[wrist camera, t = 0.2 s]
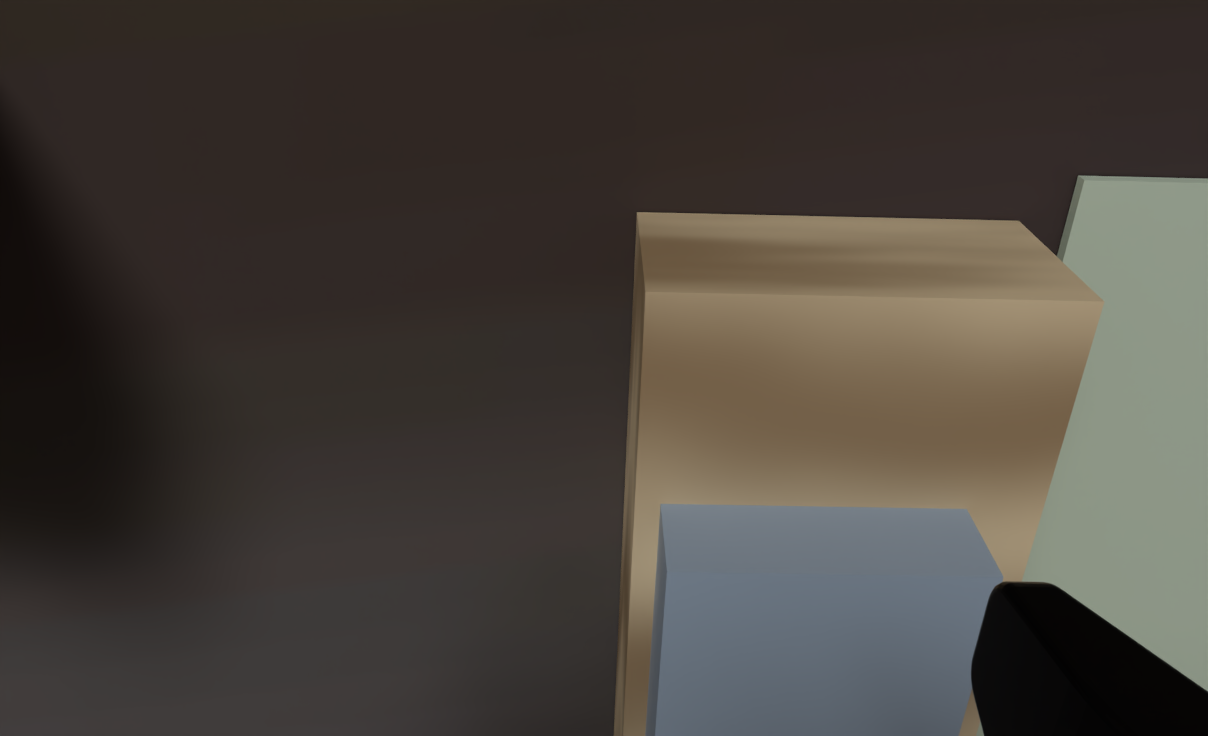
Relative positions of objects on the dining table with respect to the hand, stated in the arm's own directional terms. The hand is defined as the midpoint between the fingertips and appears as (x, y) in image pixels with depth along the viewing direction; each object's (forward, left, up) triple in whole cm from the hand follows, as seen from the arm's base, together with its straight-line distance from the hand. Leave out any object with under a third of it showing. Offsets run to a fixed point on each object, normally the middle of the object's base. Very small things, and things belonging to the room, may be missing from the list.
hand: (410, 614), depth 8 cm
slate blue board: (-11, -6, -10) cm, 16 cm away
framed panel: (-11, -6, -14) cm, 19 cm away
